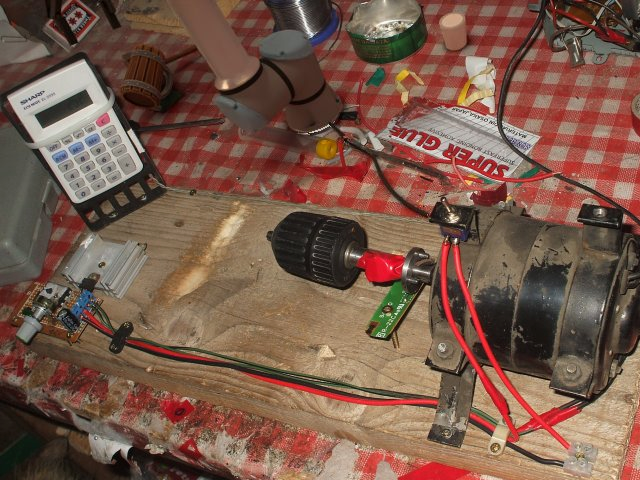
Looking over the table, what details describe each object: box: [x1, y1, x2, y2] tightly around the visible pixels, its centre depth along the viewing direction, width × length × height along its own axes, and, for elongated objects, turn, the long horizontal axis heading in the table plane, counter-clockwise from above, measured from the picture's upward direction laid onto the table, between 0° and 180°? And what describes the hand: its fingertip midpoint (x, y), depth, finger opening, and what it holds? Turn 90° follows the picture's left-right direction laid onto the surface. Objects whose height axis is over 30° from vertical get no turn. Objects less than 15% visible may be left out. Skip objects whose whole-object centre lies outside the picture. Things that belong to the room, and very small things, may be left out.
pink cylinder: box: [438, 11, 468, 51], centre depth 163 cm, size 7×7×7 cm
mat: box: [159, 84, 184, 114], centre depth 184 cm, size 12×8×1 cm, turn 50°
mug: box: [119, 43, 174, 112], centre depth 177 cm, size 16×11×15 cm
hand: (95, 36), depth 156 cm, fingers open, 13 cm apart
